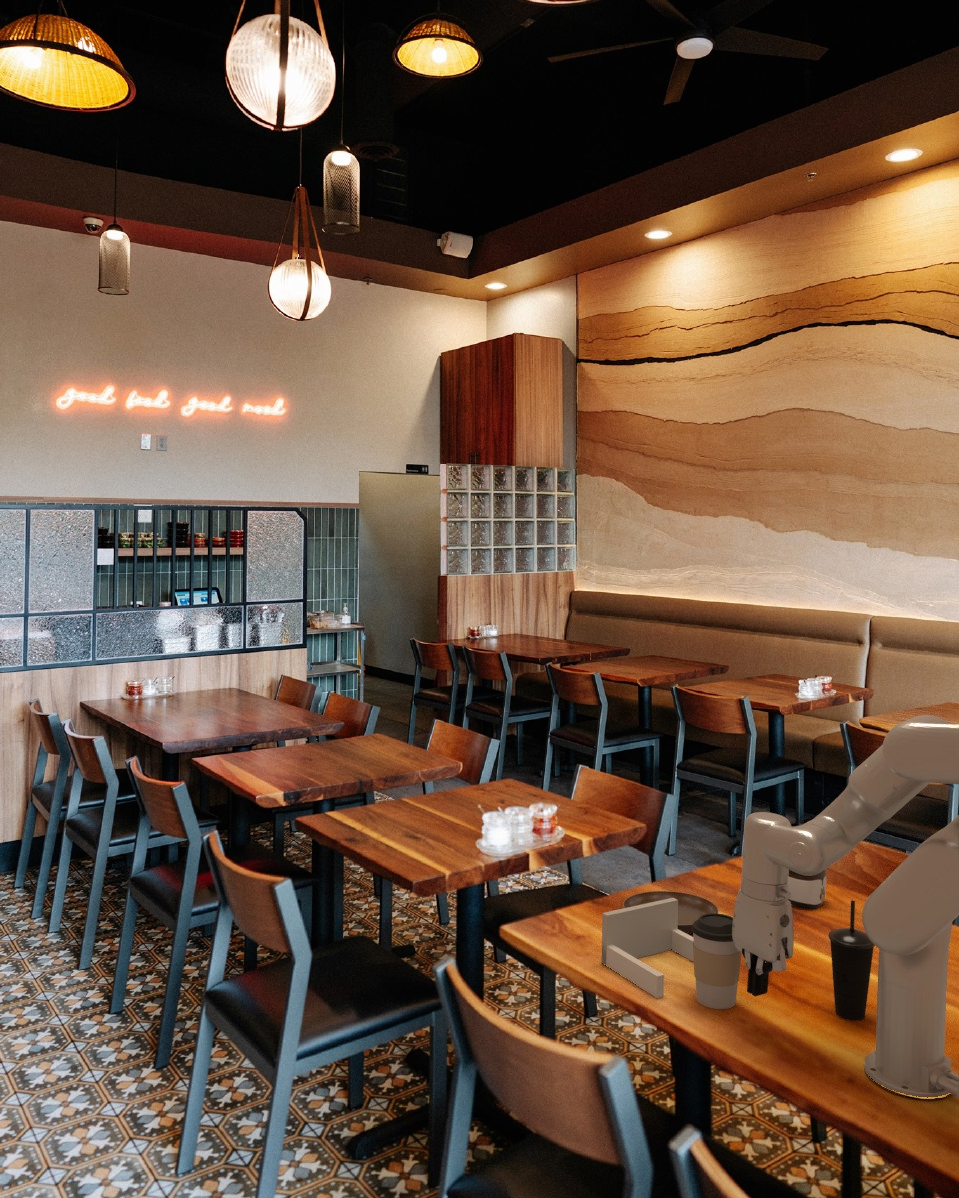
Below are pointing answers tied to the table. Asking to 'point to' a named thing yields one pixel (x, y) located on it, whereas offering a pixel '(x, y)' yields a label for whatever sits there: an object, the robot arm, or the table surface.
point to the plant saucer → (687, 906)
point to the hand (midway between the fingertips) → (757, 992)
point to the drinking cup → (851, 969)
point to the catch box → (643, 941)
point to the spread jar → (807, 889)
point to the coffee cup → (715, 961)
